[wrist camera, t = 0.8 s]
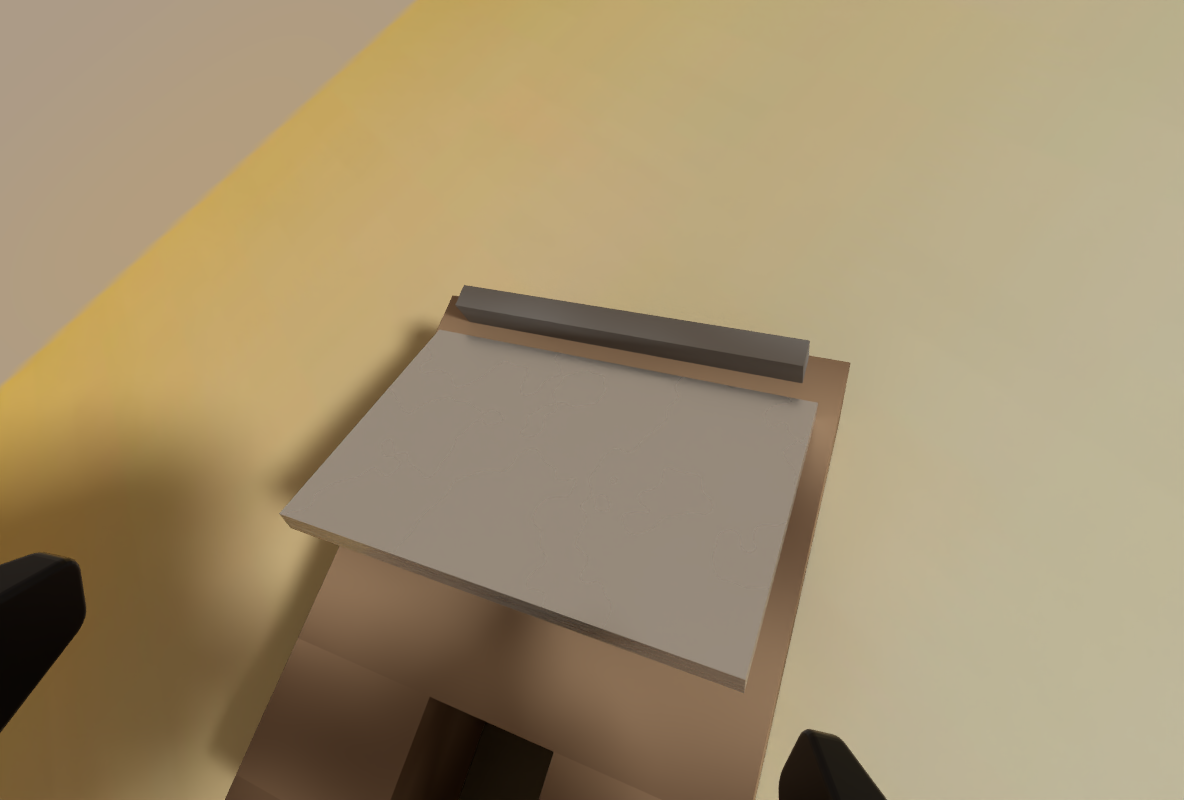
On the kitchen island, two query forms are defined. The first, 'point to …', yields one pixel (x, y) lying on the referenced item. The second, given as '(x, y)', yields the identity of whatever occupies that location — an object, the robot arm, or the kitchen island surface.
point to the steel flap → (575, 495)
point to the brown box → (538, 626)
